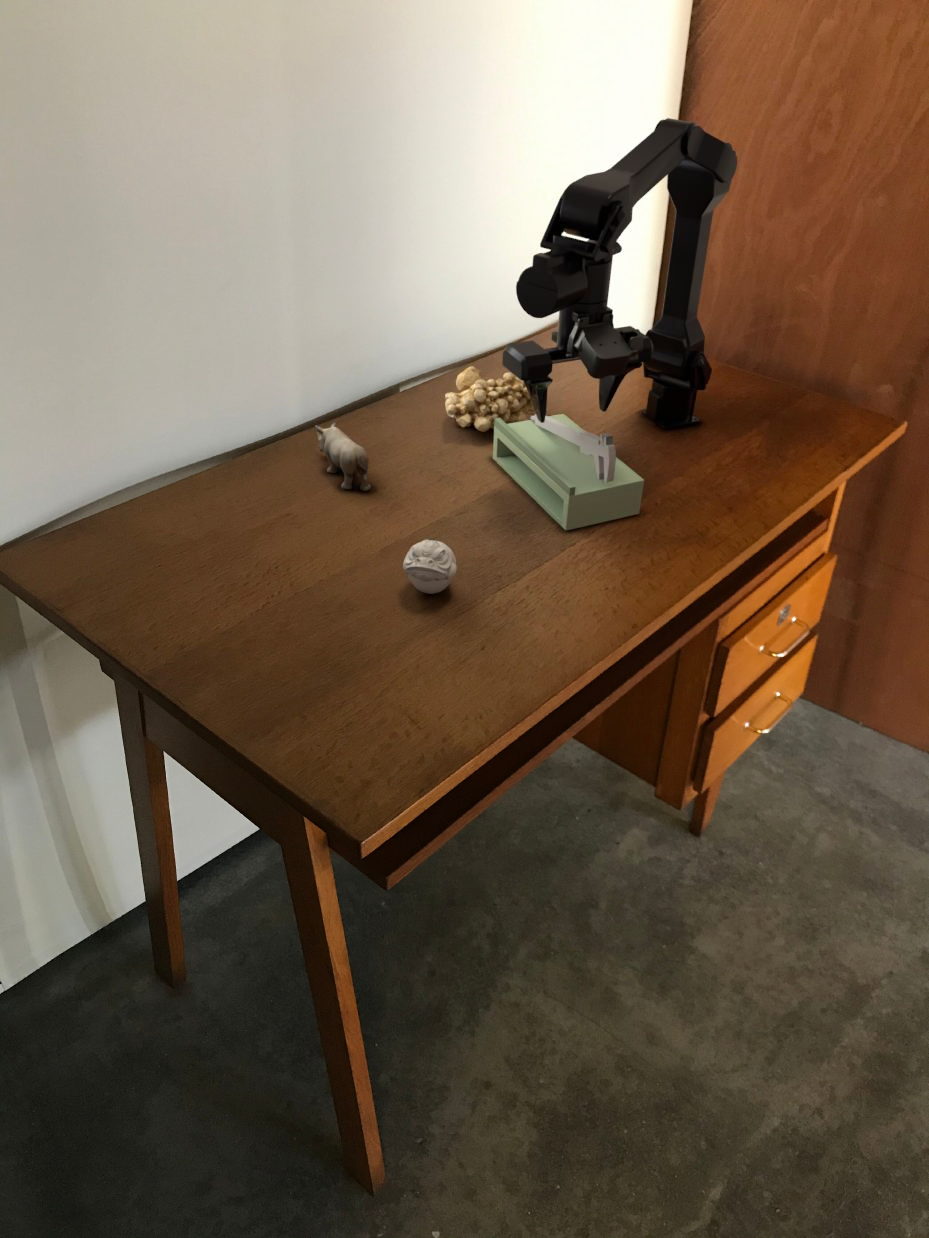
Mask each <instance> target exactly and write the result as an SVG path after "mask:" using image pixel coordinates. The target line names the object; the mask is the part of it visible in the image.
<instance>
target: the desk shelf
mask: <svg viewBox="0 0 929 1238" xmlns="http://www.w3.org/2000/svg"><path fill="white" fill-rule="evenodd" d="M547 416H548V415H547ZM548 417H550V418H553V419H555V420H557V421H559V422H561V423H563V424H565V425H568V426H570V427H572V428H574V429H576V430H578V431H580V432H586V430H584V429H583V428H582V427H580V426H579V425H578V424H577V423H576V422H574V421H573V420H572V419H570V418H569V417H568V416H567V415H566V414H564V413H560V414H555V415H549V416H548ZM492 445H493V447H492V459H493V460H494V462H495V463H496V464H497V465H499V466H500V467H501V468H502V470H504V471H505V472H506V474H507V475H509V476H510V477H511V478H512V479H513V480H514V481H515V482H516V484H518V485H519V486H520V487H521V488H522V489H523V490H524V491H525V492H526V493H527V494H528V495H529V496H530V497H531V498H532V499H533V500H534V502H536V503H537V504H538V505H539V507H541V508H542V509H543V510H544V511H545V512H546V513H547V514H548V515H549V516H550V517H551V518H552V519H554V521H555V522H556V523H557V524H558V525H559V526H560V527H561V528H563V529H564V531H570V530H574V529H579V528H584V527H587V526H592V525H596V524H601V523H605V522H610V521H614V520H619V519H623V518H627V517H632V516H636V515H639V514H640V511H641V504H642V497H643V491H644V484H645V479H644V478H642V477H641V476H640V475H639V474H637V472H635V471H634V470H633V469H632V468H630V467H629V466H628V465H627V464H625V463H624V462H623V461H622V460H621V459H619V457H617V456H616V464H615V472H614V479H613V481H610V482H606V483H605V482H604V479H600V480H599V479H598V477H597V473H596V467H595V461H594V456H593V455H585V453H581V452H580V446H578V445H576V444H574V443H572V442H570V441H568V440H566V439H564V438H562V437H560V436H558V435H556V434H554V433H552V432H550V431H548V430H546V429H544V428H542V427H540V426H537V425H536V424H535V420H532V419H530V420H526V421H521V422H516V421H515V422H513V423H510V424H506V423H505V422H504V421H503V420H502V419H501V418H495V422H494V429H493V444H492Z"/></svg>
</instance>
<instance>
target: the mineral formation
mask: <svg viewBox="0 0 929 1238" xmlns="http://www.w3.org/2000/svg"><path fill="white" fill-rule="evenodd" d="M482 373H483V372H482V371H481V370H479V369H477V368H476V367H475V366H473V365H471V366H469V367H467V368H465V369H464V370H463V371H462V372H460V373H458V375H457V378H456V380H455V387H456V388H457V390H458V393H457V392H453V391H451V392H446V393H445V395H444V398H445V399H444V400H445V402H444V407H445V411H446V413H447V415H448V417H451V418H452V419H455V421H456V423H457V425H458V426H460V427H462V428H466V427H467V428H470V427H471V426H472V424H473V426H474V428H475V429H476V430H478V431H479V432H483V433H485V432H487V431H489V430H494V422H495V418H501V419H502V420H503V421H504V422H505V423H506V424H510V423H515V422H521V421H526V420H531V418H530V417H531V416H533V415H532V413H534V412H535V410H534V407H533V404H532V401H531V398H530V396H529V393H528V390H527V388H526V386H525V384H524V381H523V380H520V379H519V378H518V377H517V376H515V375H514V374H513V373H512V372H510V371H509V372H505V373H503V376H502V378H500V377H498V378H497V379H496V380H494V379H493V378H489V379H488V380H485V379H483V378H481V376H482Z"/></svg>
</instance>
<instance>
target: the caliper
mask: <svg viewBox="0 0 929 1238" xmlns="http://www.w3.org/2000/svg"><path fill="white" fill-rule="evenodd" d="M530 420H535V424H536V425H537V426H540V427H542V428H544V429H546V430H548V431H550V432H552V433H554V434H556V435H558V436H560V437H562V438H564V439H566V440H568V441H570V442H572V443H574V444H576V445H578V446H580V452H581V453H585V455H593V456H594V461H595V467H596V473H597V477H598V479H599V480H600V479H604V482H605V483H606V482H610V481H613V479H614V472H615V464H616V457H617V455H616V453H617V452H616V444H614V440H613V439H614V438H613V435H614V434H609V433H608V432H603V433H600V434H599V436H598V435H596V434H594V433H592V432H589V431H586V430H585V432H580V431H578V430H576V429H574V428H572V427H570V426H568V425H565V424H563V423H561V422H559V421H557V420H555V419H553V418H550V417H548V415H546V417H545V422H544V423H541V422H540V421H539V420H538V418H537V415H536V413H535V414H534V415H532V416H531V417H530Z"/></svg>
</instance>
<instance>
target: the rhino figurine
mask: <svg viewBox="0 0 929 1238" xmlns="http://www.w3.org/2000/svg"><path fill="white" fill-rule="evenodd" d="M315 431H316V435H317V439H318V449H319V451H320V452H322V453H324V454H325V457H326V459H327V461H328V463H329V466H328V467H327V469H326V472H327V473H330V474H334V473H337V472H338V468H340V469H341V471H342V472H343V474H344V481H342V483H341V486H340V487H341V489H342V490H351V489H352V488H353V484H352V482H353V479H354V473H355V472H356V470H357V472H358V474H359V477H360V481H361V484H360V485H359V489H360V490H361V491H363V492H367V491H369V490H371V484H370V483H369V477H368V470H369V463H370V462H369V461H370V460H369V456H368V454H367V452H366V449H364V448H363V447H362V446H361V445H359V444H357V443H356V442H354V440H352V439H351V438H350V437H349V436H348V435H347V434H346V433H344V432H343V431H342V430H341V429H339V428H338V427H337V423H336V422H332V423H331V425H330V427H328V428H322V427H320V426H318V425H317V424H315Z"/></svg>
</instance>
